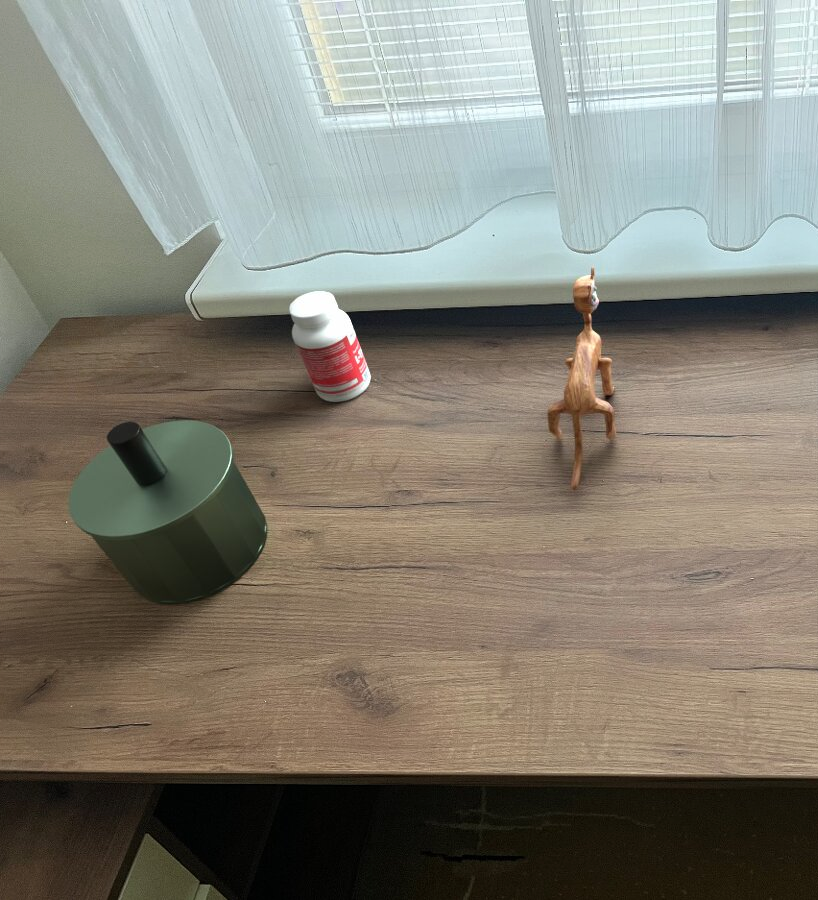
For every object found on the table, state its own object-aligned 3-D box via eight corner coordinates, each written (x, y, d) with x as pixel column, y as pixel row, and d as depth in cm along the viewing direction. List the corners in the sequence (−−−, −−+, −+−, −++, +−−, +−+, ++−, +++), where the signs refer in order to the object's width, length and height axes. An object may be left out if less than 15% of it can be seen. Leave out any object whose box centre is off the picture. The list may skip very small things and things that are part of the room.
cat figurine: (610, 499, 81) (595, 388, 71) (540, 498, 82) (516, 388, 72) (628, 374, 94) (617, 264, 84) (567, 374, 94) (550, 266, 85)
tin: (155, 630, 76) (99, 562, 69) (114, 546, 83) (61, 477, 76) (288, 552, 80) (249, 481, 74) (238, 479, 88) (198, 409, 81)
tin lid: (99, 573, 69) (57, 522, 64) (58, 481, 77) (18, 431, 73) (260, 486, 74) (231, 433, 70) (205, 408, 82) (176, 357, 78)
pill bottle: (378, 391, 96) (348, 308, 88) (324, 411, 94) (288, 329, 86) (363, 361, 100) (333, 279, 92) (311, 380, 98) (275, 299, 91)
